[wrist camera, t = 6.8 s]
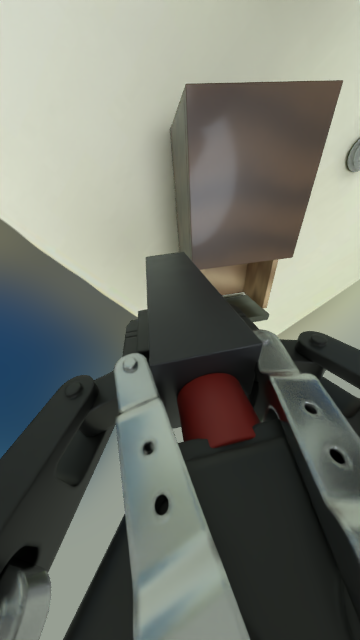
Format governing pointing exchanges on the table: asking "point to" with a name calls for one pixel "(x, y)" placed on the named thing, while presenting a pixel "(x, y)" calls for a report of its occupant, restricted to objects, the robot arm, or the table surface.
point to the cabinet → (247, 166)
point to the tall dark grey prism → (199, 353)
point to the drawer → (245, 285)
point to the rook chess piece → (354, 158)
